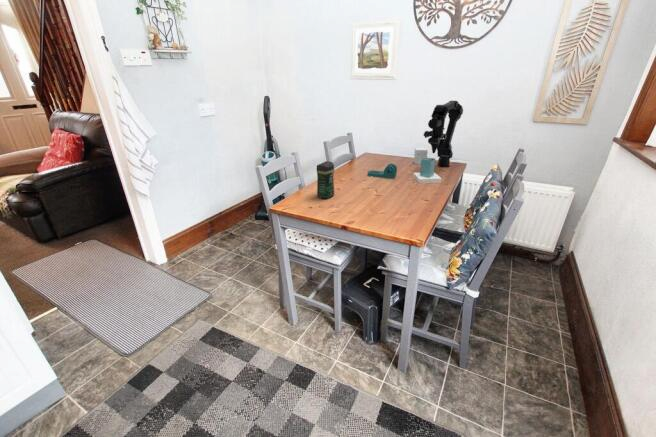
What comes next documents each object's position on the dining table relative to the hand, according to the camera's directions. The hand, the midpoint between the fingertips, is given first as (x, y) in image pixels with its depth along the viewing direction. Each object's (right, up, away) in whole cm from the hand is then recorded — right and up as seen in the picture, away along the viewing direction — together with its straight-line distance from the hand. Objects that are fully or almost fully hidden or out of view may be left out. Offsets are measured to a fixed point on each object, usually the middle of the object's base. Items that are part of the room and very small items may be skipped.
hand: (435, 151), depth 193 cm
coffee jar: (-70, -31, -29) cm, 82 cm away
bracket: (-35, -16, 0) cm, 38 cm away
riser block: (-9, -19, -8) cm, 23 cm away
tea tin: (-9, -16, -9) cm, 21 cm away
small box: (-3, -3, +24) cm, 24 cm away
